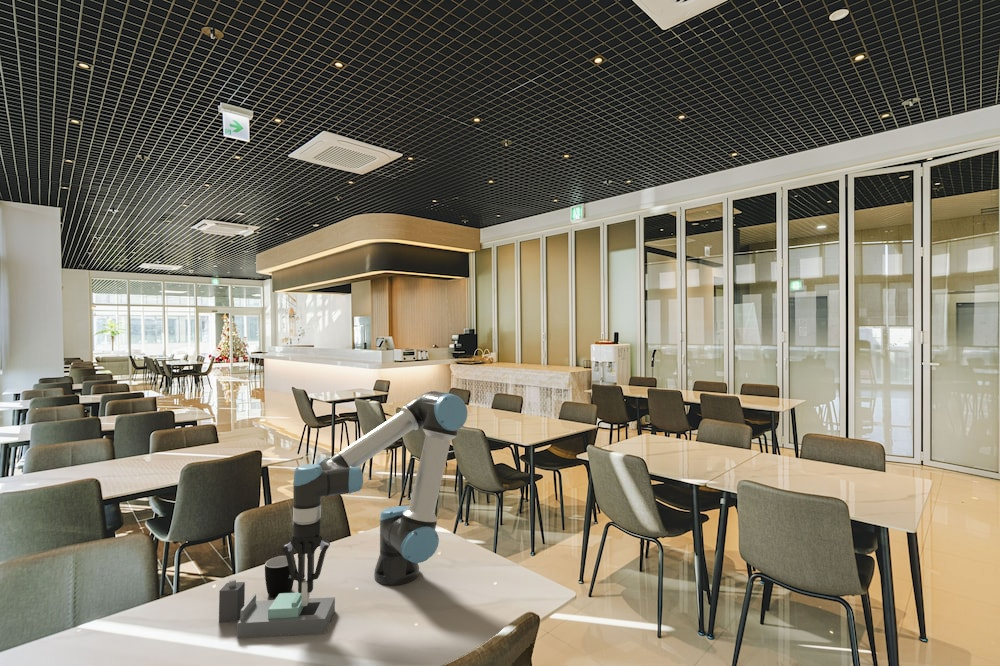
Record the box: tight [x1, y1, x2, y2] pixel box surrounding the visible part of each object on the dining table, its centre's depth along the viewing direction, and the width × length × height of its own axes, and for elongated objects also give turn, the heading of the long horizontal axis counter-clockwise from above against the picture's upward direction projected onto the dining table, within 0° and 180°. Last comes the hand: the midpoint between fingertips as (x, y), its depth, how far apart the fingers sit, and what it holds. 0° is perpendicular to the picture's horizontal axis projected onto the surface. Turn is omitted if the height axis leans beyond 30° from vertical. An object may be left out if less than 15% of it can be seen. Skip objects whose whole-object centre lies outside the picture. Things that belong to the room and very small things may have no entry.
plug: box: [218, 578, 246, 623], centre depth 146 cm, size 5×5×11 cm
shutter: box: [268, 591, 304, 619], centre depth 143 cm, size 8×9×4 cm
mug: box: [264, 555, 295, 599], centre depth 162 cm, size 12×9×10 cm
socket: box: [236, 593, 336, 639], centre depth 143 cm, size 23×12×7 cm, turn 96°
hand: (305, 603), depth 143 cm, fingers closed
